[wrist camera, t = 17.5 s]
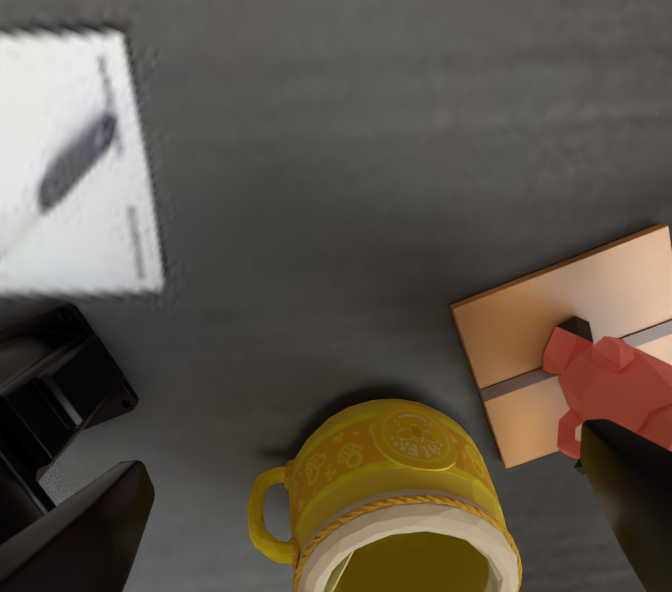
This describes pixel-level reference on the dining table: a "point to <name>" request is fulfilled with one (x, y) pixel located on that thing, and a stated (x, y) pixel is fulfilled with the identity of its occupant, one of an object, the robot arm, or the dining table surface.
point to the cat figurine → (608, 385)
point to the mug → (389, 507)
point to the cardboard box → (540, 321)
